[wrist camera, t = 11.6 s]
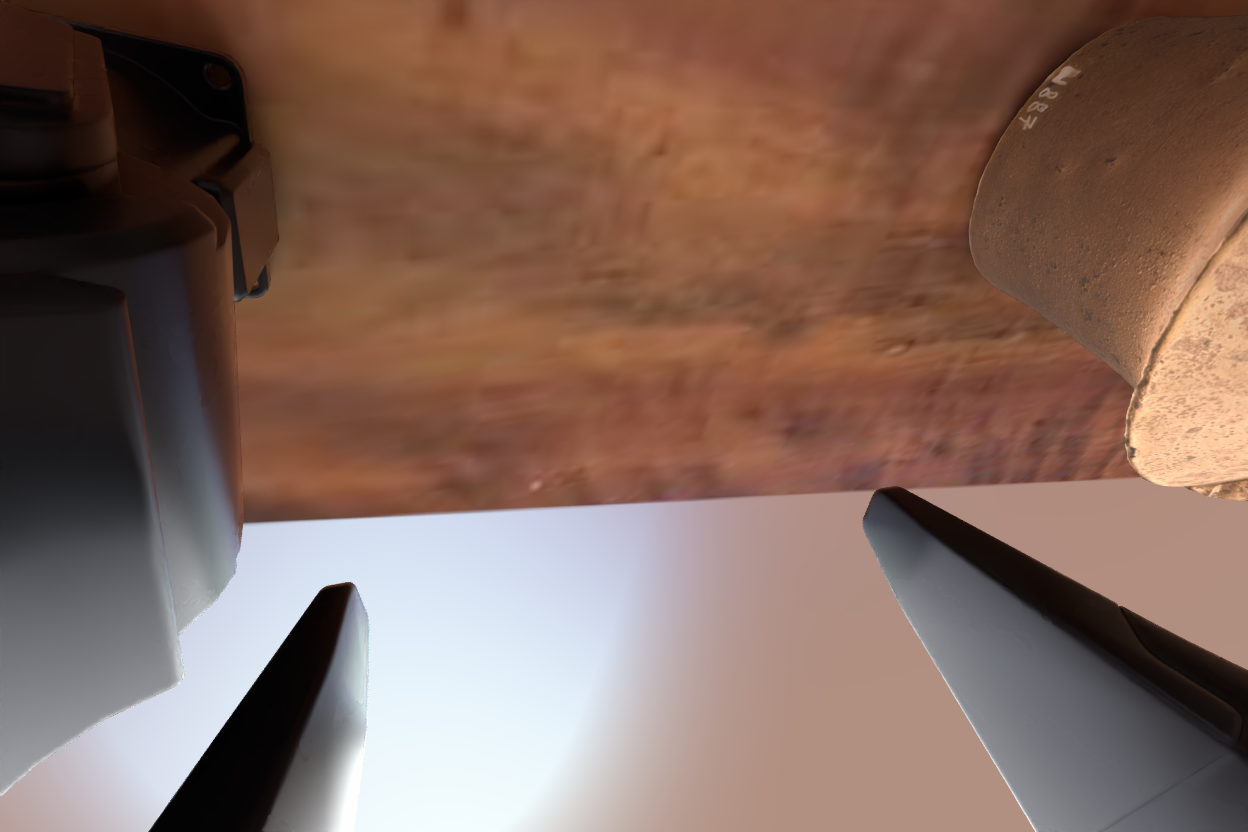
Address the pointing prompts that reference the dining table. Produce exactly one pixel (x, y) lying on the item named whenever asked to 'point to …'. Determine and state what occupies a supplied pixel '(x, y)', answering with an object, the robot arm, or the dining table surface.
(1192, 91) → the pitcher
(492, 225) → the dining table surface
